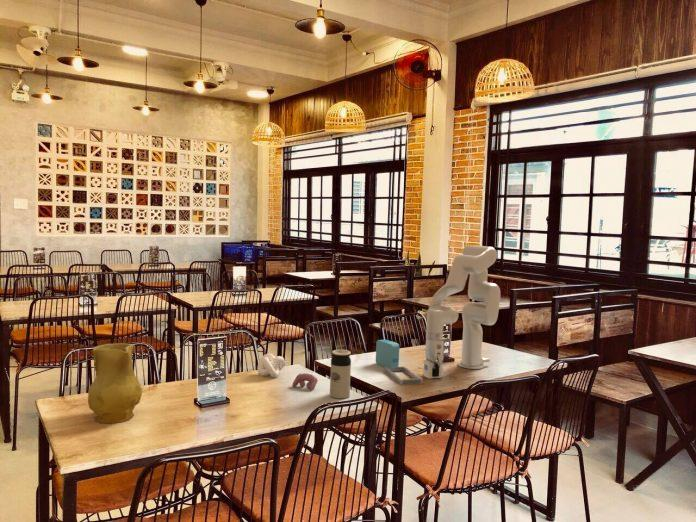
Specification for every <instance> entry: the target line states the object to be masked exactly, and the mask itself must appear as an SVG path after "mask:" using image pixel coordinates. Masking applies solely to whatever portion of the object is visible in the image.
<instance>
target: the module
mask: <svg viewBox="0 0 696 522" xmlns="http://www.w3.org/2000/svg"><path fill="white" fill-rule="evenodd" d="M435 361H437V360H435ZM436 364H437V363H435V365H436ZM443 364H444V362H443V361H442V364H441V365H440V368H439V376H438V377H432V368H433V361H431V360H427V359H425V360H423V375H422V376H423V377H425V378H427V379H429V380H430V379H439V378H443Z"/></svg>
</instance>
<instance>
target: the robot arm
mask: <svg viewBox="0 0 696 522" xmlns="http://www.w3.org/2000/svg"><path fill="white" fill-rule="evenodd" d="M497 258H498V253H497V250H496V249H495V248H494V247H493V246H486V245H485V246H484V245H474V244H472V245H471V244H470V245H466V246H464V247H463V249H462V254H458V255H456V256H455V257H454V259H453V262H452V265H451V268H450V271H449V274H448V277H447V280H446V282H445V284H444V285H443V286H441V287H440V288H439V289H438V290H437V291H436V292H435V293H434V294H433V296H432V297H431V300H430V303H429V306H428V309H427V311H426V325H425V326H426V330H425V332H426V333H425V339H426V340H425V349H424V351H425V352H424V353H425V354H424V355H425V356H424V357H425V360H431V361H433V368H432V377H438V376H439V368H440V365H441V364H442V362H443V361H444V342H443V338H444V325H452V324H455V323H456V322H457V321H458V319H459V311H457V309H455V308H453V307H449V306H445V305H442V303H443V302H444V300H446V299H447V298H448V297H449V296H451V295H454V294H457V293H460V292H462V291H463V290H464V289H465V286H466V283H467V280H468V277H469V280H468V287H467V288H468V289H467V296H468V297H469V299H471V300H474V301H478V303H477V302H467V303H465V304H464V305H463V307H462V309H461V316H462V323H463V325H462V327H463V328H462V329H463V330H462V343H461V357H460V358H461V360H459V361H458V362H457V365H458V366H459V367H461V368H463V369H469V370H481V369H483V368H484V367H485V364H484V363H490V362H491V361H490V360H491V359H490V358H489V357H487V358H486V357H482V350H483V334H484V333H483V327H482V326H481V325H485V326H493V325H495V324H496V322H497V320H498V317H499V310H500V303H501V288H500V287H499V285H498V284H496V283H493V282H488V272H489V271H488V269H489V268H490V267H491V266H492V265H494V264H495V262H496V261H497ZM479 302H484V303H485V304H484V303H483V304H482V303H479ZM435 360H437V361H435ZM435 363H437V364H436V365H435Z"/></svg>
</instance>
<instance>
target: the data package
mask: <svg viewBox="0 0 696 522" xmlns="http://www.w3.org/2000/svg"><path fill="white" fill-rule="evenodd" d="M399 360H400V344H399V343H397V342H395V341H391V340H388V339H378V340H377V341H376V345H375V363H376V364H377V365H379V366H381V367H399Z"/></svg>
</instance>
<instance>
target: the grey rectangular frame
mask: <svg viewBox="0 0 696 522" xmlns="http://www.w3.org/2000/svg"><path fill="white" fill-rule="evenodd" d="M383 367H384V366H383ZM383 372H384V373H385V374H387V375H388V376H389V377H391V378H392V379H393V380H394V381H395V382H396V383H398V384H399V385H420V384H424V378H423V377H421V376H419V375H418V374H417V373H415V372H414V371H412V370H411V369H409V367H407V366H405V365H404V366H398V367H384V371H383ZM395 372H396V373H397V372H404V373H406V375H408V376H410V377H411V378H401V377H400V376H398V375H397V374H396V373H395Z"/></svg>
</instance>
